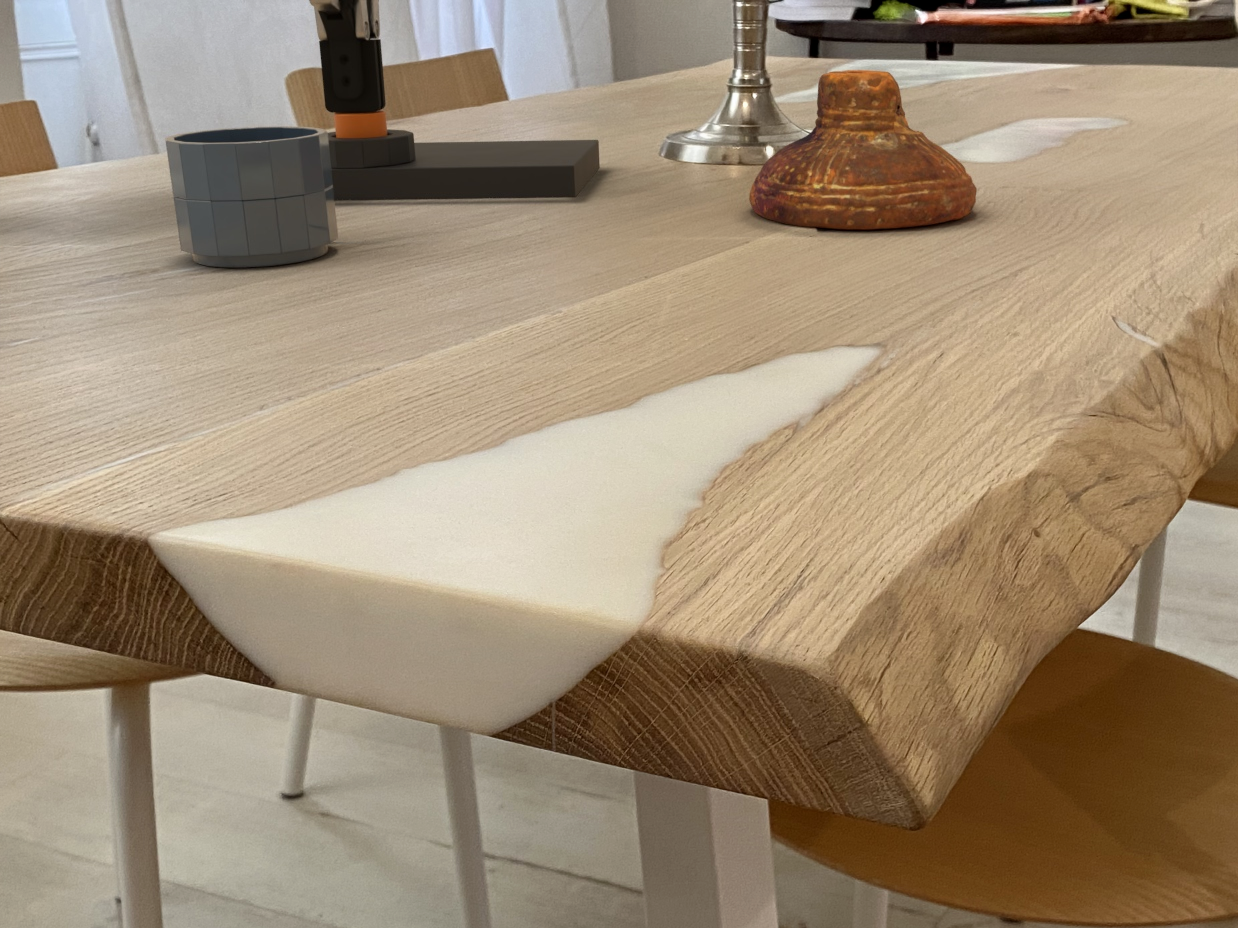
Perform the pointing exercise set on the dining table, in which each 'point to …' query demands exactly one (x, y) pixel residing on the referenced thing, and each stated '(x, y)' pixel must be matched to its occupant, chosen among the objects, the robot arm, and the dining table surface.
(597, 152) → the scale
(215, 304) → the dining table surface
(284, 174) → the blue-grey cup
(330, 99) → the robot arm
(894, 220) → the bell
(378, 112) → the button
